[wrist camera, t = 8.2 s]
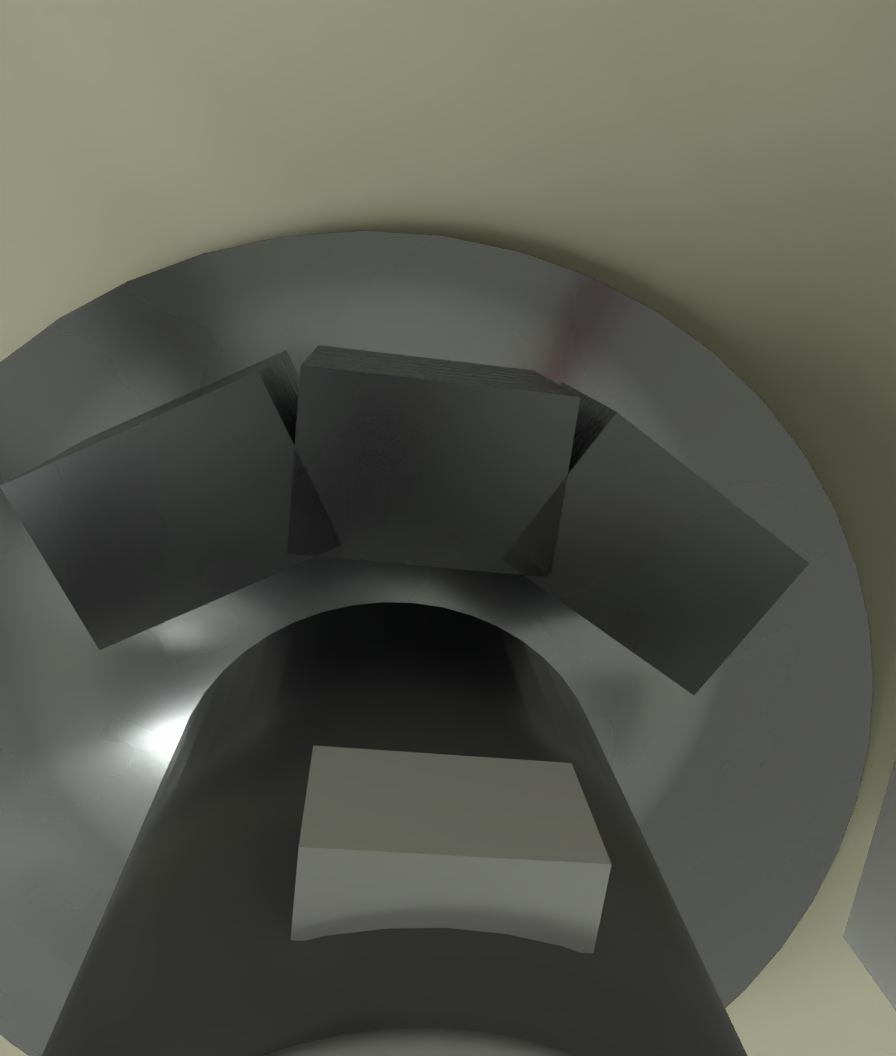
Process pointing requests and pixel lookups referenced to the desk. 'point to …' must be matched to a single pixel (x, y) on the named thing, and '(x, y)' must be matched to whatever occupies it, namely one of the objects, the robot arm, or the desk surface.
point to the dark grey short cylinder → (391, 867)
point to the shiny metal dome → (414, 558)
